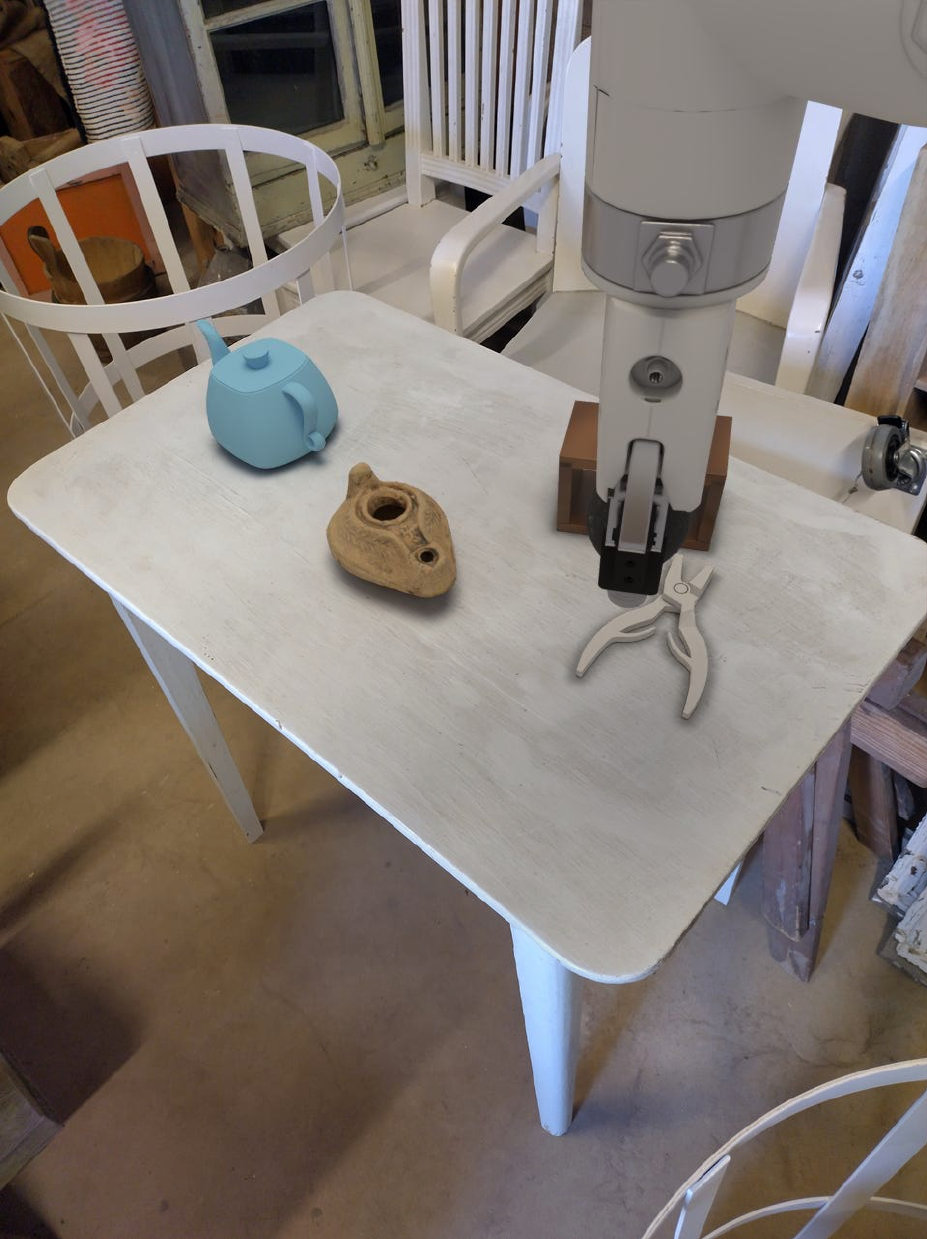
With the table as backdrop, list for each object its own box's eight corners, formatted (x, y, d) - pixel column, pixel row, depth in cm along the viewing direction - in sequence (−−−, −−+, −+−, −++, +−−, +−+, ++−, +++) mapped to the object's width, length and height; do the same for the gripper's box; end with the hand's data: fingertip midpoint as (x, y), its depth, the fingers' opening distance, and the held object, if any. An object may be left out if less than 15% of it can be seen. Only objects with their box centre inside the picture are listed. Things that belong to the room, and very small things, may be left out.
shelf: (714, 493, 79) (732, 416, 72) (708, 551, 74) (727, 475, 67) (570, 475, 82) (575, 400, 75) (556, 530, 77) (559, 455, 70)
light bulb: (621, 554, 52) (636, 427, 44) (692, 600, 49) (721, 474, 42) (560, 602, 50) (565, 477, 42) (631, 653, 47) (650, 530, 39)
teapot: (243, 290, 88) (354, 348, 79) (267, 376, 96) (371, 436, 88) (144, 342, 82) (252, 410, 74) (178, 428, 91) (280, 498, 82)
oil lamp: (416, 641, 70) (405, 578, 63) (307, 557, 77) (288, 493, 71) (503, 570, 74) (501, 505, 68) (393, 497, 81) (382, 432, 75)
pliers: (574, 662, 65) (642, 541, 73) (573, 674, 66) (640, 553, 74) (693, 709, 62) (751, 577, 70) (690, 720, 63) (747, 589, 71)
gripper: (777, 355, 26) (692, 679, 40) (777, 139, 37) (710, 456, 51) (546, 338, 28) (541, 656, 42) (609, 135, 38) (589, 444, 52)
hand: (634, 544), depth 46 cm, fingers closed on light bulb, 5 cm apart
